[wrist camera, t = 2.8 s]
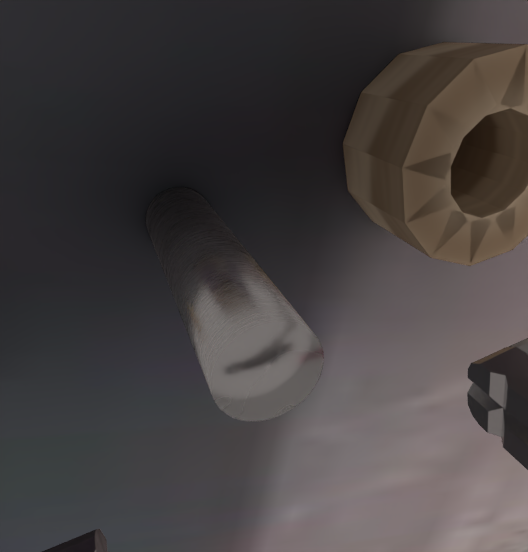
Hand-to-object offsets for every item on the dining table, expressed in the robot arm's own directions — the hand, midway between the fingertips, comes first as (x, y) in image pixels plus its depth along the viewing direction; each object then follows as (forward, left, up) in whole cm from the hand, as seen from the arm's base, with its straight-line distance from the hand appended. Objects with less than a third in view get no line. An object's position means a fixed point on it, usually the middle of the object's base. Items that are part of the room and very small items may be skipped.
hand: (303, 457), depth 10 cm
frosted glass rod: (0, 0, -15) cm, 15 cm away
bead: (-13, 0, -15) cm, 20 cm away
